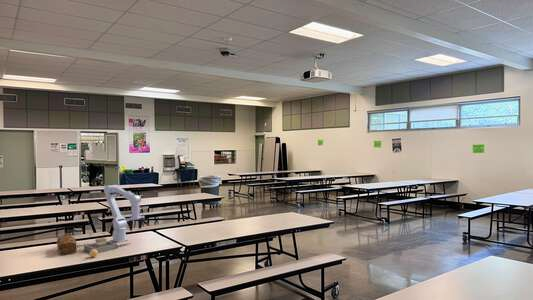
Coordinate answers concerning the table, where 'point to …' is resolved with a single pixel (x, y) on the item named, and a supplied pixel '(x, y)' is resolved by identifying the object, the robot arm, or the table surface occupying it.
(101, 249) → the bin
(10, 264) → the table surface
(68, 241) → the bread
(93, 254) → the egg
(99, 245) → the carton
